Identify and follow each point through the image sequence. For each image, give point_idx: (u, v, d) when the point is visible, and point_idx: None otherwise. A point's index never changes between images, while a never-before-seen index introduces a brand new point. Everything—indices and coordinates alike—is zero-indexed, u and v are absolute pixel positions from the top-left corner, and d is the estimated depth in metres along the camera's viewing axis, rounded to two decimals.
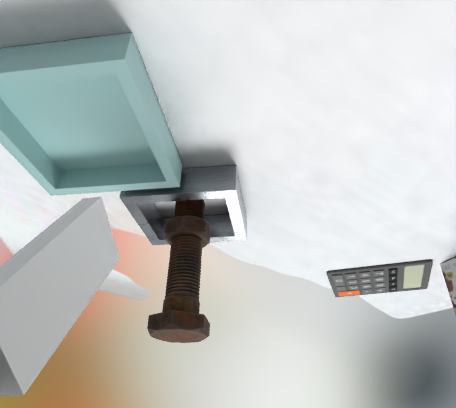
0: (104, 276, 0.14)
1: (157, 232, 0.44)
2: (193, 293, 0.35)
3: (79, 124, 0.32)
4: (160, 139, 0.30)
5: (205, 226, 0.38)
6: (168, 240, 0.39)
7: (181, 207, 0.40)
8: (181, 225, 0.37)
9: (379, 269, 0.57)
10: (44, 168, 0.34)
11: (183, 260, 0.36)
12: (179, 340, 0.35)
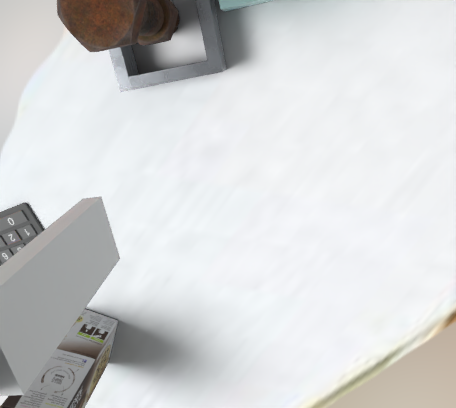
0: (104, 276, 0.14)
1: None
2: None
3: None
4: None
5: (168, 39, 0.33)
6: None
7: None
8: (174, 9, 0.32)
9: None
10: None
11: (152, 11, 0.29)
12: (71, 4, 0.24)
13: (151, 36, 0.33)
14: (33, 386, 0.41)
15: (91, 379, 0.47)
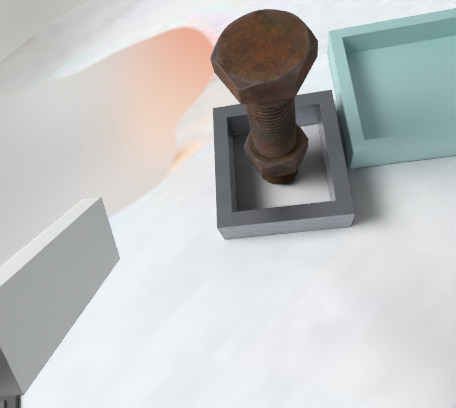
0: (104, 276, 0.14)
1: (237, 119, 0.33)
2: (284, 104, 0.23)
3: (415, 85, 0.34)
4: (437, 142, 0.29)
5: (294, 168, 0.28)
6: None
7: None
8: None
9: None
10: (366, 39, 0.35)
11: (294, 118, 0.26)
12: (232, 45, 0.20)
13: (277, 159, 0.28)
14: None
15: None
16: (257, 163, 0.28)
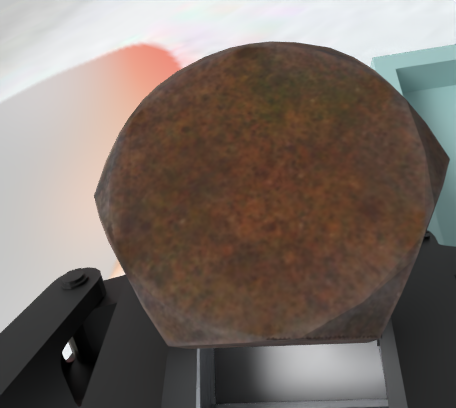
0: None
1: None
2: None
3: None
4: None
5: None
6: None
7: None
8: None
9: None
10: (435, 71, 0.21)
11: None
12: (160, 161, 0.06)
13: None
14: None
15: None
16: None
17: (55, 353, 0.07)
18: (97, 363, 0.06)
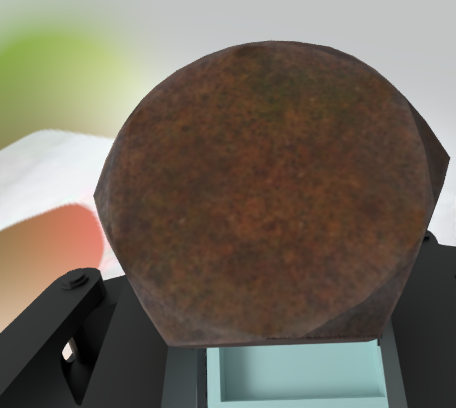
0: None
1: None
2: None
3: None
4: None
5: None
6: None
7: None
8: None
9: None
10: None
11: None
12: (159, 161, 0.06)
13: None
14: None
15: None
16: None
17: (55, 354, 0.07)
18: (96, 363, 0.06)
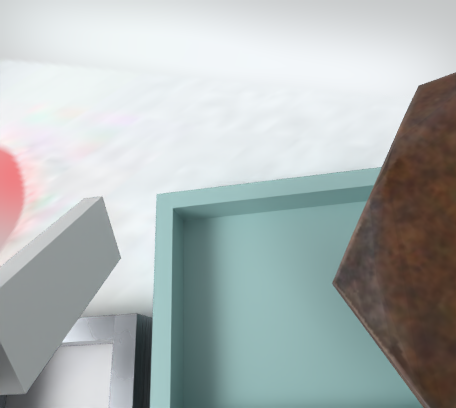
0: (105, 276, 0.14)
1: None
2: None
3: (284, 291, 0.21)
4: None
5: None
6: None
7: None
8: None
9: None
10: (213, 208, 0.22)
11: None
12: (452, 244, 0.04)
13: None
14: None
15: None
16: None
17: None
18: None
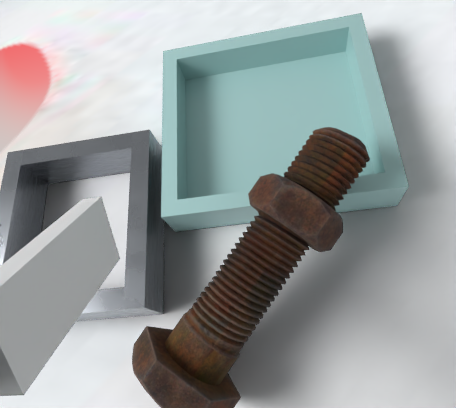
0: (104, 276, 0.14)
1: (37, 166, 0.26)
2: (242, 344, 0.18)
3: (266, 120, 0.26)
4: None
5: (335, 239, 0.19)
6: (260, 210, 0.18)
7: (330, 171, 0.18)
8: (316, 232, 0.17)
9: None
10: (209, 61, 0.27)
11: (268, 288, 0.18)
12: None
13: None
14: None
15: None
16: None
17: None
18: None
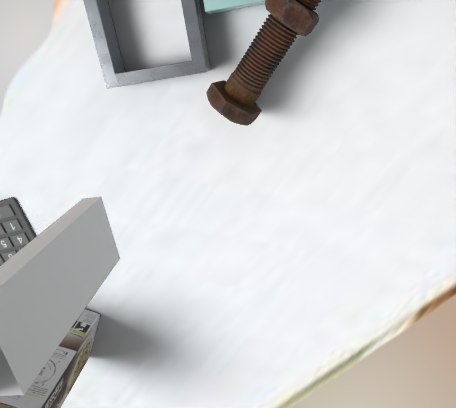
0: (104, 276, 0.14)
1: None
2: (262, 86, 0.37)
3: None
4: None
5: (314, 26, 0.33)
6: (274, 16, 0.32)
7: None
8: (304, 30, 0.32)
9: None
10: None
11: (277, 59, 0.34)
12: None
13: None
14: None
15: (72, 371, 0.48)
16: None
17: None
18: None
